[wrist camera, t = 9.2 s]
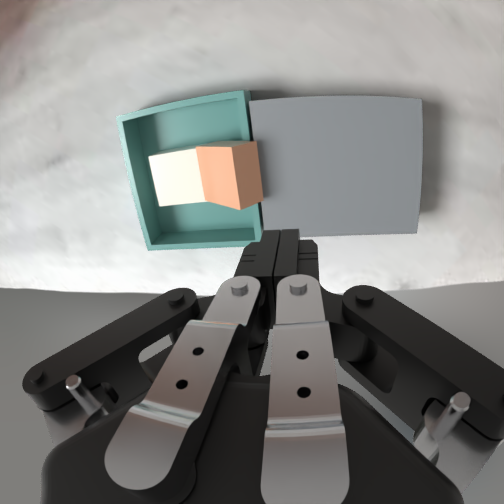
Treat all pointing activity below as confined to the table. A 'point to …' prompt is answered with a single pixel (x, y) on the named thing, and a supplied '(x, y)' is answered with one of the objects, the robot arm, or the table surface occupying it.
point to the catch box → (181, 135)
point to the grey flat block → (340, 163)
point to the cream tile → (177, 176)
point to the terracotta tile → (230, 173)
